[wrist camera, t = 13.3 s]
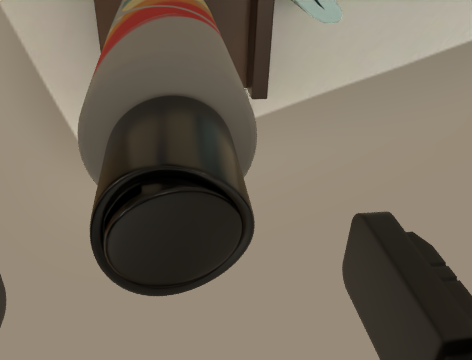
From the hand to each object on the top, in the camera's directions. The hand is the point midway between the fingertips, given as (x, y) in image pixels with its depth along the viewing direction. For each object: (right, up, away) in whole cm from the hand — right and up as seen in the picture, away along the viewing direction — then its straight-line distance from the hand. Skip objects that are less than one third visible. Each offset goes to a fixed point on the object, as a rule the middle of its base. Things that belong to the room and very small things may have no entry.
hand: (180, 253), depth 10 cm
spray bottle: (-3, +11, +17) cm, 20 cm away
